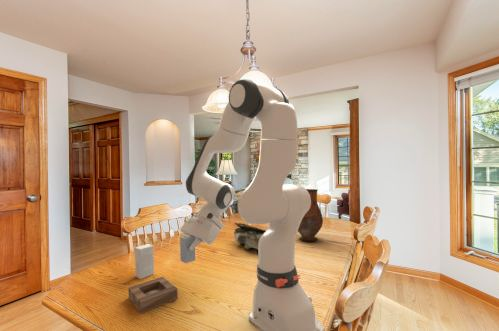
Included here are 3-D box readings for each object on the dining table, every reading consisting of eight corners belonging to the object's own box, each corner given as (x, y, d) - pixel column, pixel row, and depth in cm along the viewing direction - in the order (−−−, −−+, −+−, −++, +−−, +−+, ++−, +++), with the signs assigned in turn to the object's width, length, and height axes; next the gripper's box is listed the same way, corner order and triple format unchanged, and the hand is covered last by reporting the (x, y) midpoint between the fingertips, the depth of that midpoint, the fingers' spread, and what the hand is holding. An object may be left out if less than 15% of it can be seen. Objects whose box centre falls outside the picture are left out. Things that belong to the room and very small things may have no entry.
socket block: (177, 298, 84) (177, 288, 84) (140, 313, 76) (140, 302, 76) (162, 285, 93) (162, 276, 93) (128, 297, 85) (128, 287, 85)
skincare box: (148, 271, 106) (148, 243, 105) (154, 274, 103) (153, 245, 103) (134, 276, 101) (134, 247, 101) (139, 279, 98) (139, 249, 98)
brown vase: (328, 240, 146) (328, 189, 146) (305, 248, 133) (305, 192, 133) (306, 233, 159) (306, 187, 159) (282, 240, 146) (282, 189, 146)
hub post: (195, 260, 94) (194, 235, 94) (185, 263, 92) (185, 238, 92) (190, 257, 97) (189, 233, 97) (180, 260, 95) (180, 236, 95)
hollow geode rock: (235, 249, 145) (220, 234, 138) (247, 231, 151) (233, 216, 144) (270, 262, 124) (254, 245, 117) (282, 240, 130) (268, 223, 123)
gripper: (189, 210, 107) (168, 237, 100) (217, 216, 92) (194, 249, 85) (199, 219, 110) (179, 246, 103) (227, 226, 95) (205, 259, 88)
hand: (186, 247), depth 94 cm, fingers closed on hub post, 4 cm apart
